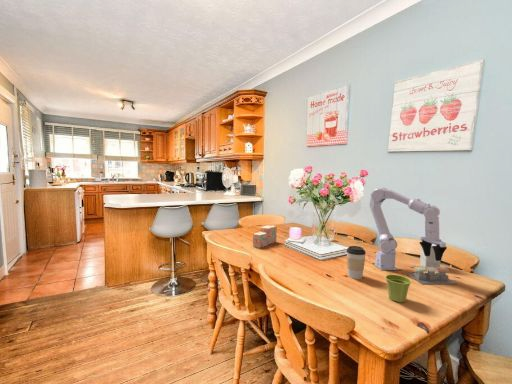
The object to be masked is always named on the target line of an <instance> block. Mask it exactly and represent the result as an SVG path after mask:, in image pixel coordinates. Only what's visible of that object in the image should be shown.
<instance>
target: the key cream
mask: <svg viewBox="0 0 512 384" xmlns="http://www.w3.org/2000/svg"><path fill="white" fill-rule="evenodd" d="M424 268H425V269H427V273H428V274H429V275H435V273H439V270H438V269H436V268H434V267H424Z"/></svg>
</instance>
